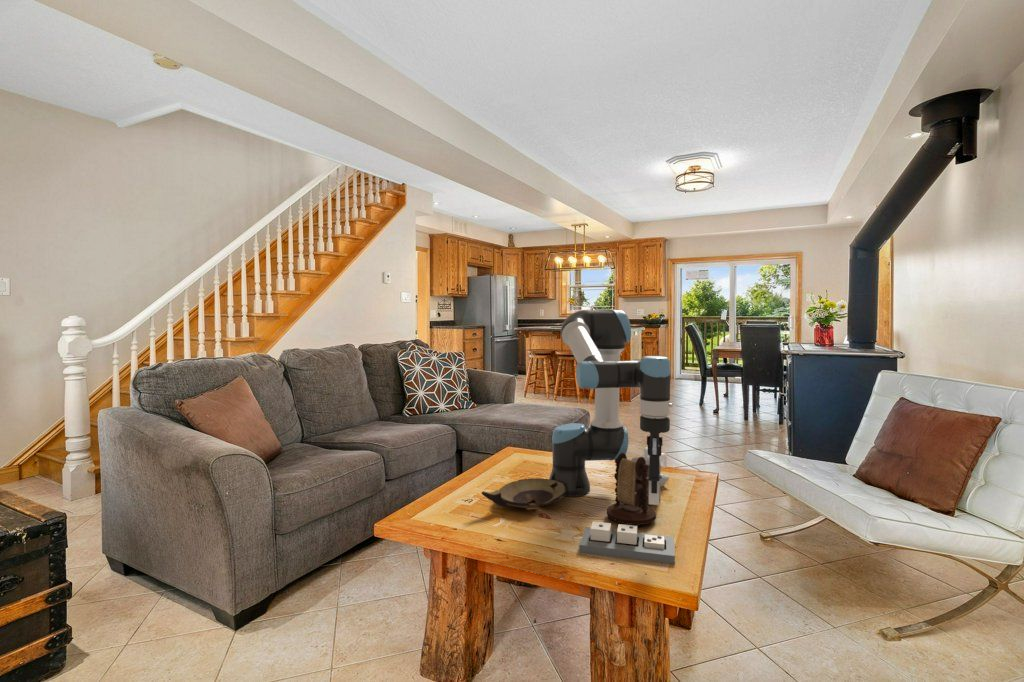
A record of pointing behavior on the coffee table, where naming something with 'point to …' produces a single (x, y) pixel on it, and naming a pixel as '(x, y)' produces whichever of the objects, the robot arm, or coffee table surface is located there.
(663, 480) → the figurine
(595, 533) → the white die
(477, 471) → the coffee table surface
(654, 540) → the white die
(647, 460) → the pillar candle
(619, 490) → the scroll
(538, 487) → the oil lamp
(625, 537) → the white die
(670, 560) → the button board
